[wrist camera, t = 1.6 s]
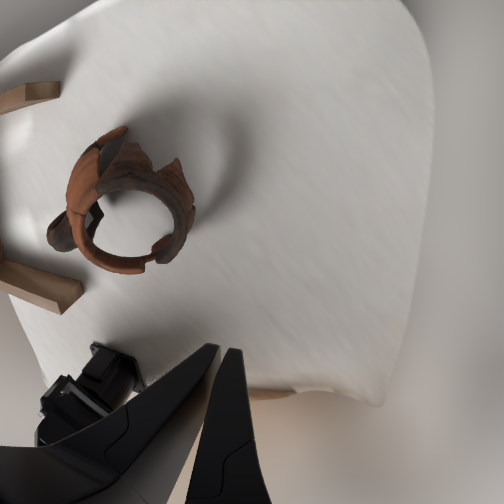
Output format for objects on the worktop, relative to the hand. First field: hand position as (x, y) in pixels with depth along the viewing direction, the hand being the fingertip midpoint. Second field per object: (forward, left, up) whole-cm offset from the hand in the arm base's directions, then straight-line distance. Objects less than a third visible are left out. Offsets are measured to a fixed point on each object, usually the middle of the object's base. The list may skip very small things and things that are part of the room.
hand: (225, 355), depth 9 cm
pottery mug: (+1, +11, -13) cm, 17 cm away
